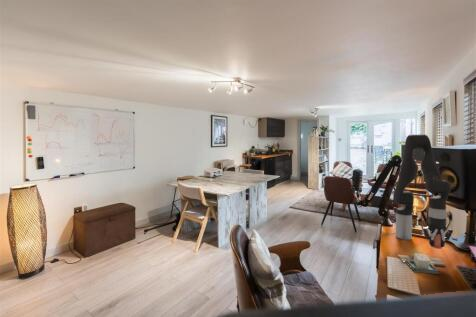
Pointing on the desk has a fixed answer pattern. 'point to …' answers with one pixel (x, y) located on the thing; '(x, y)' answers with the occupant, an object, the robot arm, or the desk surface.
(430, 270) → the tray
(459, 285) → the desk surface
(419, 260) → the die
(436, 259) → the board
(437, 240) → the pawn
